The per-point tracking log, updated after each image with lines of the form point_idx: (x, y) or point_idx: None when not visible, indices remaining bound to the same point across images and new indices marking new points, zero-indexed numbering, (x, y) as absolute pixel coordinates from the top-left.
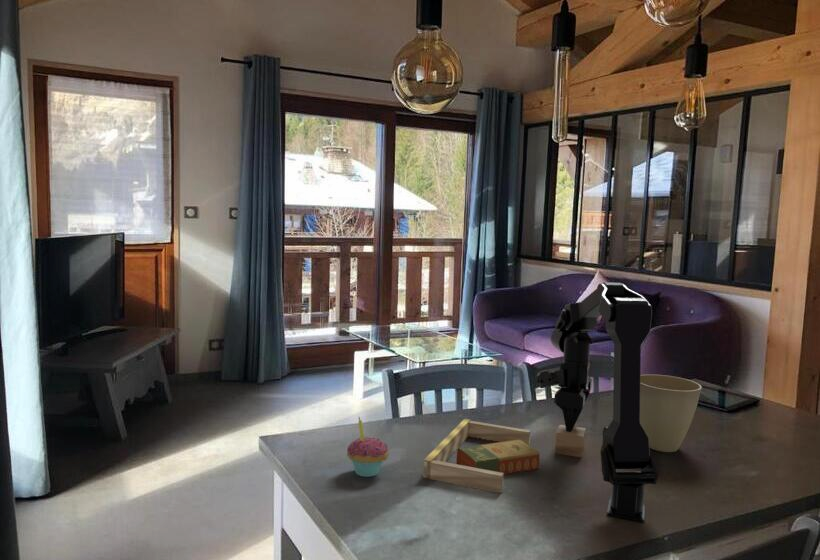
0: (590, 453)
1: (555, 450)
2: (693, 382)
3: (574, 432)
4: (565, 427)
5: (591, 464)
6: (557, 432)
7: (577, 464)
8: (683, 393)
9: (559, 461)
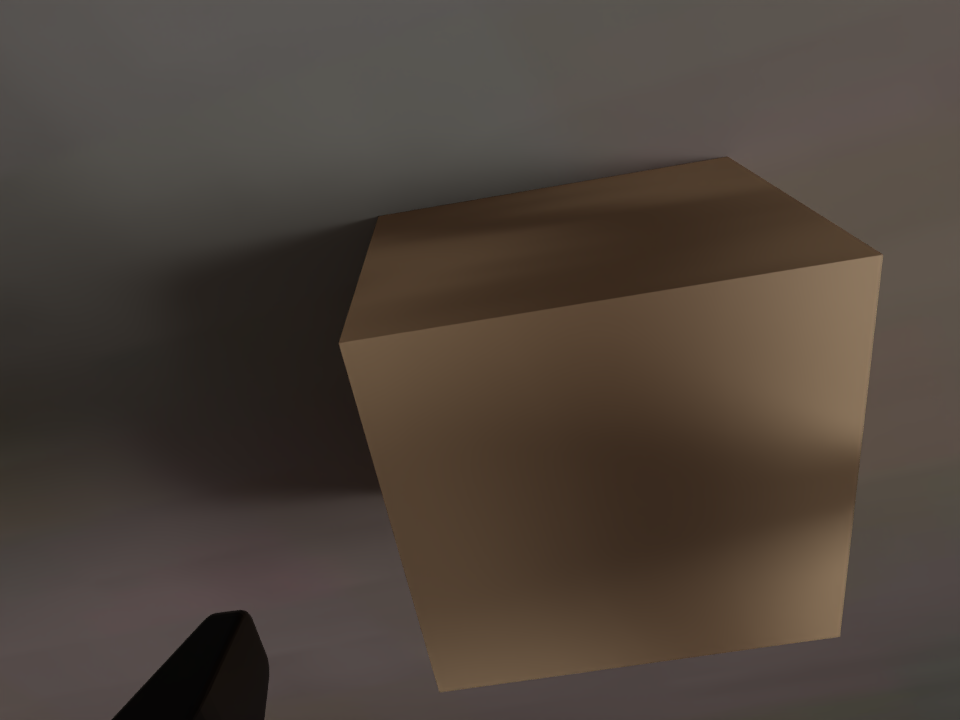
0: None
1: (376, 230)
2: None
3: (552, 570)
4: (748, 396)
5: (317, 591)
6: (367, 356)
7: (219, 502)
8: None
9: (151, 338)
